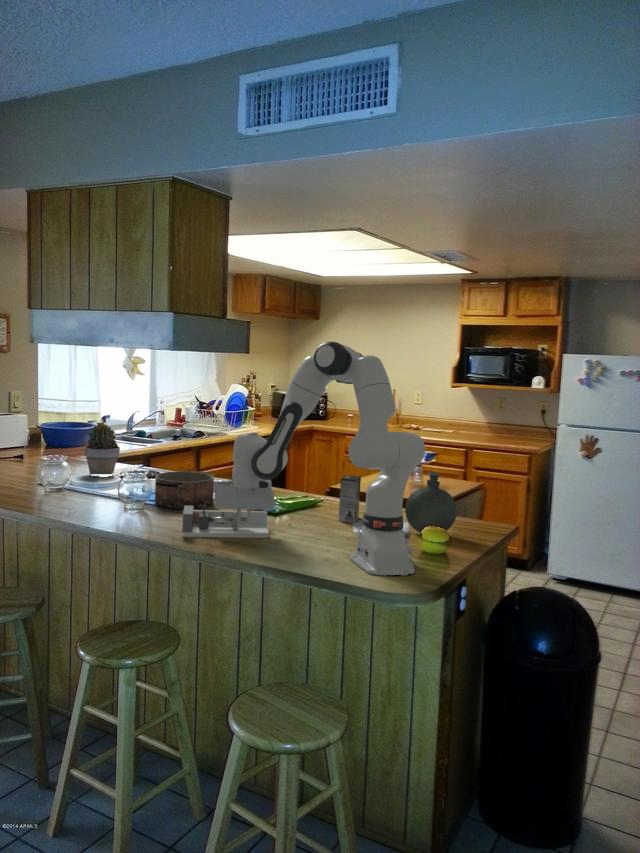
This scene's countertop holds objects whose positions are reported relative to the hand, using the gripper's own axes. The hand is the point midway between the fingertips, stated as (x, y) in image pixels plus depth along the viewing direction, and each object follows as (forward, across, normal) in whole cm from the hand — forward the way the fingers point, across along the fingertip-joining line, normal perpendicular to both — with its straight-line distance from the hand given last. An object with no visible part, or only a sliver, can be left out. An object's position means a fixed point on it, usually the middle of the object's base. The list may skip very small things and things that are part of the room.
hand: (243, 521), depth 232 cm
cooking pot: (+4, -21, +43) cm, 48 cm away
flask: (+4, +65, +1) cm, 65 cm away
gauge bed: (+4, -6, 0) cm, 7 cm away
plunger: (+2, -7, 0) cm, 7 cm away
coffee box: (+4, +40, +21) cm, 45 cm away
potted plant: (+4, -61, +97) cm, 114 cm away
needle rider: (+2, -13, 0) cm, 13 cm away
